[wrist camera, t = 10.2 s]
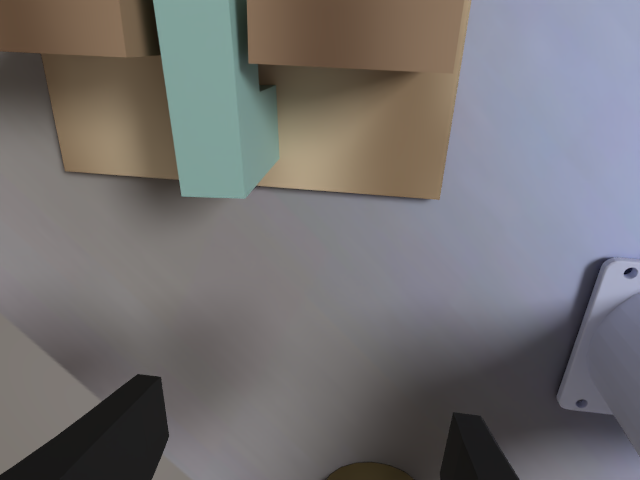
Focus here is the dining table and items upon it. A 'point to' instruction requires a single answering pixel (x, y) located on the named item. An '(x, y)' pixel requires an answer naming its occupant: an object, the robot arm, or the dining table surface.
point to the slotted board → (273, 69)
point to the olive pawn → (369, 472)
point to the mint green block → (215, 98)
